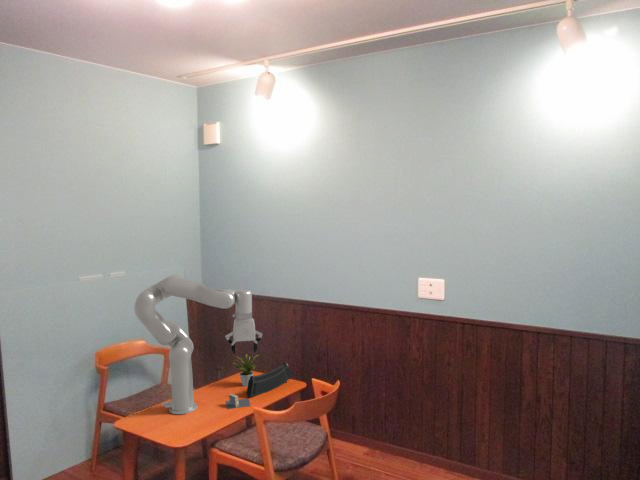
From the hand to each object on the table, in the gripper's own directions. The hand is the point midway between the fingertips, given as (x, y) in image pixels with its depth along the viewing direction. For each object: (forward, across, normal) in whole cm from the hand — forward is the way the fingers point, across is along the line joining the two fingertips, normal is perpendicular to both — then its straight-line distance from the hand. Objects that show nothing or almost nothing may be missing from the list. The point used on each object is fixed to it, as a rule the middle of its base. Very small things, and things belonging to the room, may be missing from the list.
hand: (244, 352), depth 231 cm
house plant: (+25, +5, +27) cm, 37 cm away
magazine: (+25, +15, +16) cm, 33 cm away
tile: (+25, -5, 0) cm, 26 cm away
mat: (+25, -3, +1) cm, 25 cm away
